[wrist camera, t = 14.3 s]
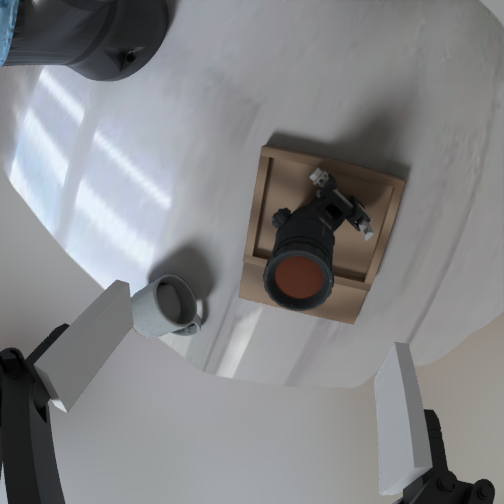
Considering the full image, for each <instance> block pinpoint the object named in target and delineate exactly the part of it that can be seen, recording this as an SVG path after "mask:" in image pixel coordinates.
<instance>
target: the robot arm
mask: <svg viewBox="0 0 504 504" xmlns="http://www.w3.org/2000/svg"><path fill="white" fill-rule="evenodd" d="M167 24H168V8H167V4H166V1H165V0H0V67H1V66H12V65H66V66H67V67H69V68H71V69H73V70H74V71H76V72H78V73H79V74H81V75H83V76H84V77H86V78H88V79H92V80H96V81H117V80H121V79H124V78H126V77H128V76H130V75H132V74H134V73H135V72H137V71H138V70H139V69H141V68H142V67H143V66H144V65H145V64H146V63H147V62H148V61H149V60H150V59H151V58H152V56H153V55H154V54H155V52H156V51H157V49H158V48H159V46H160V44H161V42H162V40H163V38H164V35H165V32H166V29H167ZM133 325H134V321H133V314H132V306H131V297H130V288H129V283H127V282H123V281H120V280H116V281H115V282H114V283H112V284H111V285H110V286H109V287H108V288H107V289H106V290H105V291H104V292H103V293H102V294H101V295H100V296H99V297H98V298H97V299H96V300H95V301H94V302H93V303H92V304H91V305H90V306H89V307H88V308H87V309H86V310H85V311H84V312H83V313H82V314H81V315H80V316H79V317H78V318H77V319H76V320H75V321H74V322H73V323H72V324H71V325H68V324H63V325H61V326H59V327H57V328H55V330H54V331H52V332H51V334H49V337H47V338H46V339H45V340H44V342H42V343H41V344H40V345H39V346H38V347H37V348H36V349H35V350H34V351H33V352H32V353H31V354H30V355H29V356H28V357H27V359H26V360H25V359H24V357H23V355H22V353H21V352H20V350H18V349H16V348H7V349H4V350H3V351H1V352H0V478H1V470H2V462H3V467H4V477H5V485H6V492H7V498H8V504H65V500H64V496H63V492H62V488H61V483H60V479H59V474H58V469H57V464H56V459H55V453H54V446H53V439H52V432H51V424H50V414H49V406H48V403H47V402H48V401H49V400H50V398H51V400H52V401H53V403H54V405H55V406H56V407H58V408H60V409H62V410H63V411H65V412H67V413H68V412H69V410H70V409H71V408H72V406H73V405H74V403H75V402H76V401H77V399H78V398H79V397H80V395H81V394H82V392H83V391H84V390H85V388H86V387H87V386H88V384H89V383H90V382H91V380H92V379H93V378H94V376H95V375H96V374H97V372H98V371H99V370H100V368H101V367H102V366H103V364H104V363H105V362H106V360H107V359H108V358H109V356H110V355H111V354H112V352H113V351H114V350H115V348H116V347H117V346H118V345H119V343H120V342H121V341H122V339H123V338H124V337H125V335H126V334H127V333H128V332H129V330H130V329H131V328H132V327H133ZM374 387H375V398H376V412H377V426H378V447H379V495H396V494H398V493H399V492H400V491H402V490H403V497H402V498H400V499H399V500H397V501H396V502H394V503H393V504H493V500H494V496H495V489H494V486H493V484H492V483H491V482H490V481H489V480H487V479H481V480H478V481H477V482H476V483H474V484H471V483H466V482H462V481H458V480H457V478H456V476H455V475H454V474H453V473H452V472H451V471H449V470H448V467H447V461H446V455H445V449H444V443H443V439H442V432H441V431H440V430H441V427H440V422H439V419H438V417H437V415H436V414H435V412H434V410H426V409H423V405H422V399H421V395H420V390H419V385H418V381H417V377H416V372H415V368H414V364H413V360H412V356H411V352H410V348H409V344H405V343H398V342H394V344H393V346H392V348H391V350H390V352H389V353H388V355H387V357H386V359H385V361H384V363H383V365H382V366H381V368H380V370H379V372H378V373H377V375H376V377H375V379H374Z"/></svg>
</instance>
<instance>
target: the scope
mask: <svg viewBox="0 0 504 504" xmlns="http://www.w3.org/2000/svg"><path fill="white" fill-rule="evenodd" d="M309 177H310V179H311V180H313V181H314V183H313V184H314V185H315V186H316V187H318V186H320V190H318V191H317V192H316V196H317V197H315V198H314V199H313V200H312V201H311V202H310V203H309V204H308V205H307V206H303V207H300V208H298V209H297V210H295V211H293V212H292V213H291V210H288V208H283V209H282V208H281V209H278V212H277V213H276V212H275V214H274V215H273V216H272V226H274V227H275V228H278V230H277V232H276V238H275V243H274V247H273V250H272V254H271V257H270V260H268V261H267V264H266V266H265V269H264V274H263V281H264V284H265V285H264V288H265V291H266V292H267V293H268V294H269V297H270V298H271V299H272V300H273V301H274V302H276V303H277V305H279V306H281V307H284V308H286V309H288V310H292V311H306V310H311V309H314V308H316V307H318V306H319V305H322V304H323V303H324V302H325V300H326V299H327V298H328V297H329V296H330V295H331V293H332V288H333V287H334V271H333V266H332V264H333V246H334V245H335V236H334V232H335V231H336V229H338V228H339V227H340V226H341V225H342V223H343V222H344V220H345V219H346V220H347V221H348V222H349V223H350V224H351V225H352V226H353V227H354V228H355V229H356V230H357V231H359V232H360V231H362V233H363V234H364V237H365V240H366V241H367V240H368V239H370V238H371V237H372V236H373V235H374V233H373V229H372V228H371V226H370V223H369V222H370V221H371V220H372V217H371V216H370V215H369V213H368V212H367V211H366V210H365V207H364V205H363V204H362V203H361V202H360V201H359V200H358V199H357V198H356V197H355V196H354V195H352V196H351V200H350V201H348V200H347V198H346V197H345V196H344V195H342V194H341V193H340V192H339V191H338V190H337V189H338V188H337V184H336V180H335V178H334V177H333V176H332V175H331V174H328V173H327V172H326V171H324V172H323V171H322V170H320V169H319V168H317V169H315V170H314V172H313V173H312V174H311V175H310V176H309ZM330 203H333V204H334V205H335V206H334V207H333V206H332V205H331V204H330Z"/></svg>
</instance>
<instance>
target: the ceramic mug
mask: <svg viewBox="0 0 504 504" xmlns="http://www.w3.org/2000/svg"><path fill="white" fill-rule="evenodd" d="M131 306H132V314H133V321H134V325H133V327H132V328H133V329H134V330H135V331H136V332H137V333H138V334H140V335H142V336H144V337H148V338H153V337H159V336H162V335H165V334H167V333H170V332H171V333H173V334H176V335H180V336H190V335H195V334H197V333H198V332H199V331H200V329H201V318H200V317H199V316H198V314H197V304H196V300H195V297H194V295H193V292H192V291H191V289H190V287H189V286H188V285H187V284H186V283H185V281H183V280H182V279H181V278H179V277H178V276H175V275H172V274H167V275H163V276H161V277H159V278H158V279H157V280H155V281H154V282H152V283H150V284H149V285H147V286H146V287H145V288H143V289H141V290H140V291H138V292H137V293H135V294H134V295H133V297H132V298H131ZM193 322H194V323H195V324H196V325H194V326H190V327H188V326H189V325H191V324H192V323H193ZM185 327H186V328H185Z"/></svg>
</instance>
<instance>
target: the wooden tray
mask: <svg viewBox="0 0 504 504" xmlns="http://www.w3.org/2000/svg"><path fill="white" fill-rule="evenodd" d="M317 168H319V169H320V170H322V171H323V172H324V171H326V172H327V173H328V174H331V175H332V176H333V177H334V178H335V180H336V184H337V188H338V189H337V190H338V191H339V192H340V193H341V194H342V195H344V196H345V197H346V198H347V200H348V201H350V200H351V196H352V195H354V196H355V197H356V198H357V199H358V200H359V201H360V202H361V203H362V204H363V205H364V207H365V210H366V211H367V212H368V213H369V215H370V216H371V217H372V220H371V221H370V222H369V223H370V226H371V228H372V229H373V233H374V235H373V236H372V237H371V238H370V239H368V240H367V241H366V240H365V237H364V234H363V233H362V231H360V232H359V231H357V230H356V229H355V228H354V227H353V226H352V225H351V224H350V223H349V222H348V221H347V220H346V219H345V220H344V222H343V223H342V225H341V226H340V227H339V228H338V229H336V231H335V232H334V236H335V245H334V246H333V264H332V266H333V271H334V287H333V288H332V293H331V295H330V296H329V297H328V298H327V299H326V300H325V302H324V303H323V304H322V305H319V306H318V307H316V308H314V309H311V310H306V311H295V312H300V313H304V314H308V315H313V316H317V317H321V318H326V319H330V320H335V321H339V322H344V323H349V324H353V325H354V322H355V320H356V317H357V315H358V312H359V310H360V308H361V305H362V303H363V300H364V298H365V295H366V292H367V291H370V288H371V286H372V283H373V280H374V278H375V275H376V272H377V270H378V267H379V264H380V261H381V259H382V256H383V253H384V250H385V247H386V244H387V241H388V238H389V235H390V232H391V229H392V226H393V222H394V219H395V216H396V213H397V209H398V206H399V203H400V199H401V196H402V192H403V188H404V185H405V181H404V180H403V179H401V178H399V177H395V176H392V175H389V174H385V173H382V172H378V171H375V170H371V169H368V168H364V167H360V166H357V165H353V164H349V163H345V162H341V161H337V160H333V159H329V158H324V157H320V156H316V155H311V154H307V153H302V152H298V151H293V150H288V149H283V148H278V147H273V146H267V145H264V146H262V148H261V154H260V160H259V166H258V172H257V178H256V184H255V190H254V196H253V202H252V209H251V215H250V221H249V227H248V233H247V239H246V245H245V252H244V258H243V262H244V266H243V272H242V279H241V285H240V291H239V298H243V299H247V300H251V301H254V302H258V303H262V304H266V305H271V306H275V307H279V308H283V309H286V308H284V307H281V306H279V305H277V303H276V302H274V301H273V300H272V299H271V298H270V297H269V294H268V293H267V292H266V291H265V288H264V285H265V284H264V281H263V274H264V269H265V266H266V264H267V261H268V260H270V257H271V254H272V250H273V247H274V243H275V238H276V232H277V230H278V228H275V227H274V226H272V216H273V215H274V214H275V212H276V213H277V212H278V209H281V208H282V209H283V208H288V210H291V213H292V212H293V211H295V210H297V209H298V208H300V207H303V206H307V205H308V204H309V203H310V202H311V201H312V200H313V199H314V198H315V197H317V196H316V192H317V191H318V190H320V186H318V187H316V186H315V185H314V184H313V183H314V181H313V180H311V179H310V177H309V176H310V175H311V174H312V173H313V172H314V170H315V169H317ZM330 204H331V205H332V206H333V207H334V206H335V205H334V204H333V203H330ZM287 310H288V309H287ZM291 311H292V310H291Z"/></svg>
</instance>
